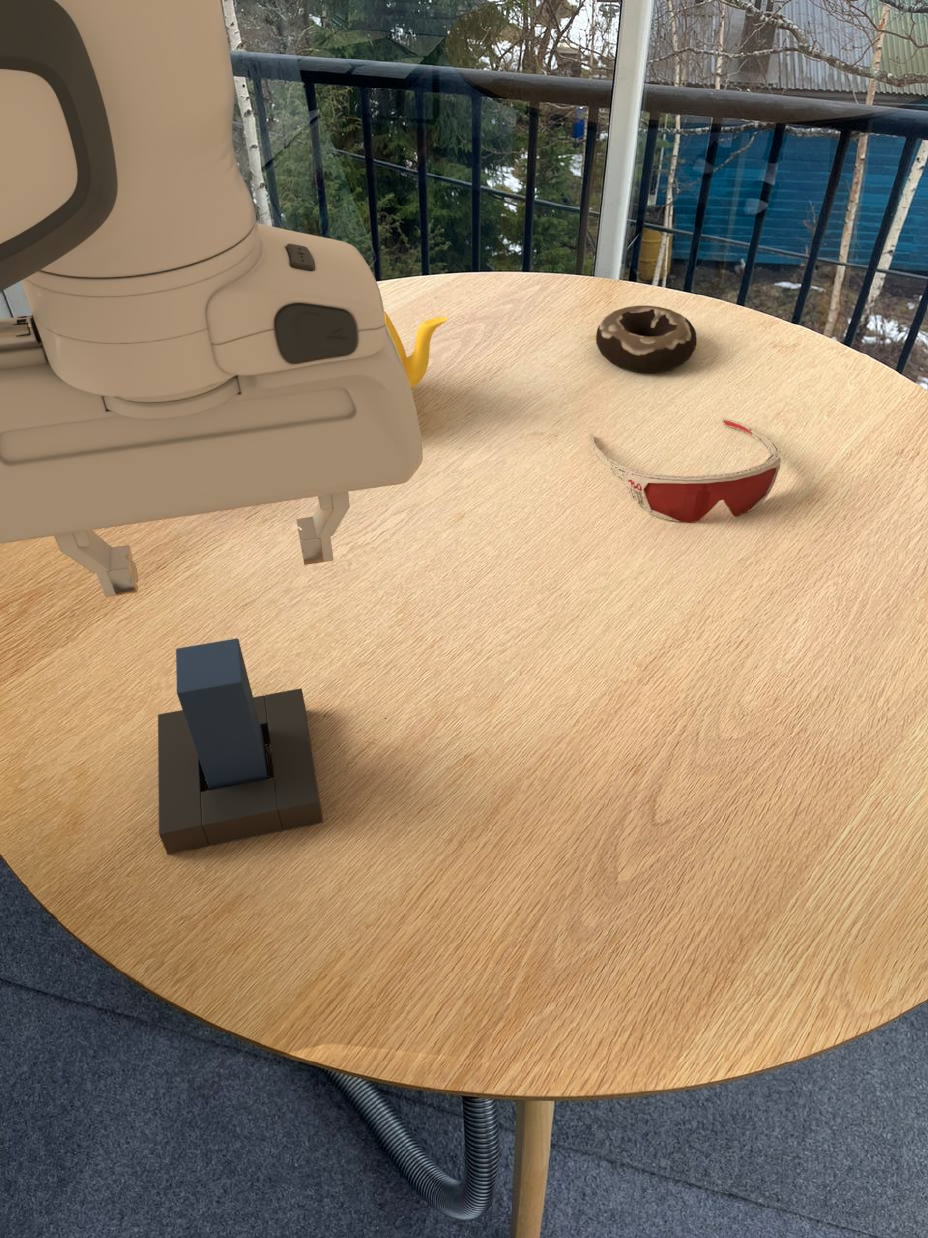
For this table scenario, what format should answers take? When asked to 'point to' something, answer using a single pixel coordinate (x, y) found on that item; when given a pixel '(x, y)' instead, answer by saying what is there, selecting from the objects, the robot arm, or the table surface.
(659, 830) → the table surface
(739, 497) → the sunglasses
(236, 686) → the blue rectangular peg
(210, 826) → the black square socket base
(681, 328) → the donut
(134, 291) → the robot arm
